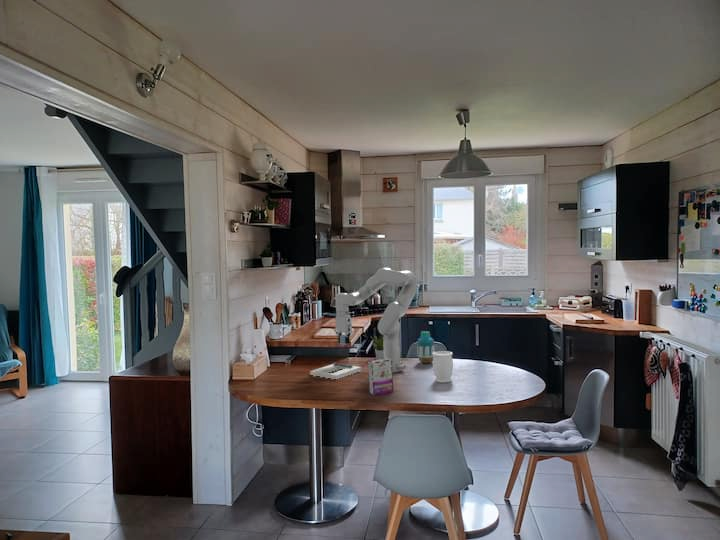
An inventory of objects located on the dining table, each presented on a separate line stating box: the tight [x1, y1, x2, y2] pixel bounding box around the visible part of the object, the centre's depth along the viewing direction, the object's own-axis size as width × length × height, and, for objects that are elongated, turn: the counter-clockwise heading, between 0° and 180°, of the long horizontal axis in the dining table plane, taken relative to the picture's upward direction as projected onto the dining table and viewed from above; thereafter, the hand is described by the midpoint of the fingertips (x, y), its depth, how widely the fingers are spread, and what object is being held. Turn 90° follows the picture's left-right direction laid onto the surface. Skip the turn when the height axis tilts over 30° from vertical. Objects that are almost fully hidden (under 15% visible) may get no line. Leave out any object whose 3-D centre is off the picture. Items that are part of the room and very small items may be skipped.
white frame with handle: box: [309, 363, 362, 380], centre depth 289 cm, size 20×22×2 cm
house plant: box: [371, 335, 384, 360], centre depth 321 cm, size 14×14×16 cm
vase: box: [416, 330, 436, 364], centre depth 305 cm, size 11×11×19 cm
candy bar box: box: [367, 358, 394, 396], centre depth 246 cm, size 11×5×16 cm, turn 114°
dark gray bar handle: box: [332, 362, 354, 368], centre depth 294 cm, size 14×2×2 cm, turn 51°
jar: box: [432, 350, 454, 384], centre depth 262 cm, size 11×10×15 cm
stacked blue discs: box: [339, 334, 348, 346], centre depth 301 cm, size 5×5×6 cm
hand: (344, 342), depth 301 cm, fingers closed on stacked blue discs, 5 cm apart
